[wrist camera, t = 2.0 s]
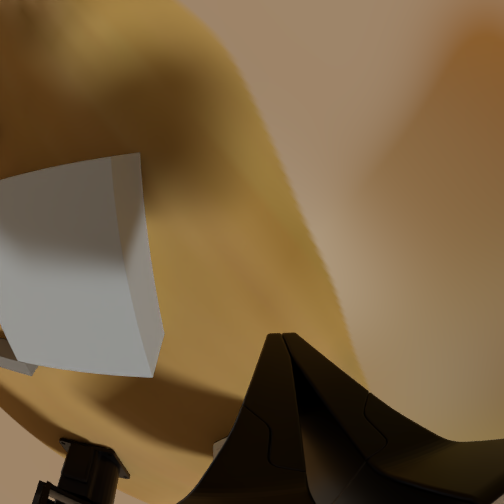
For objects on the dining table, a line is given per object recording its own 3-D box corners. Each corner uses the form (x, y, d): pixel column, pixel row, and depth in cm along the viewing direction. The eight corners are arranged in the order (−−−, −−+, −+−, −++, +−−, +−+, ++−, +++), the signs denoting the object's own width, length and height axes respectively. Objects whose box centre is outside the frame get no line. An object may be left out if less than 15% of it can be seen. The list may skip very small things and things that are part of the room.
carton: (165, 330, 16) (152, 377, 13) (44, 325, 16) (18, 361, 12) (142, 152, 13) (110, 157, 9) (8, 177, 12) (-36, 191, 8)
